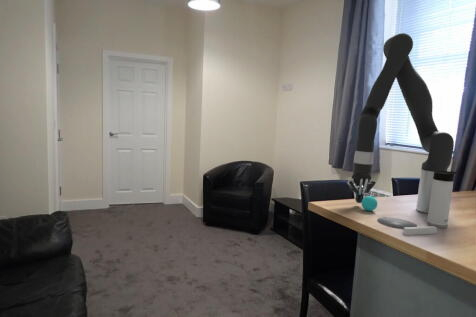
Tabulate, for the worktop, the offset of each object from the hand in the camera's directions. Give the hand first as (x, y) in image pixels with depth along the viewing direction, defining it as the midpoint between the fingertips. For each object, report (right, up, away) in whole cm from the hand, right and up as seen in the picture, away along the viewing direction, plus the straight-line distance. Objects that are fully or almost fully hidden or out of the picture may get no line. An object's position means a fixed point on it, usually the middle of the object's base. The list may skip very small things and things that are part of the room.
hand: (358, 202), depth 144 cm
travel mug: (+20, -6, -22) cm, 30 cm away
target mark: (+6, -5, -22) cm, 23 cm away
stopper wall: (+9, -6, -32) cm, 34 cm away
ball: (+2, +1, -7) cm, 7 cm away
